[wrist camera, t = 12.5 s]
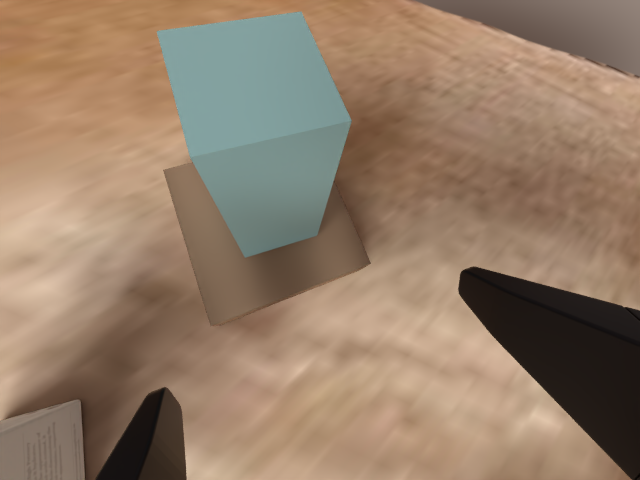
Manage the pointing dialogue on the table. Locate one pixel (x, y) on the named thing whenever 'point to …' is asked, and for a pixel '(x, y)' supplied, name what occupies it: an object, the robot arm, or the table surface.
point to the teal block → (259, 123)
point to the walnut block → (261, 269)
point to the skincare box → (43, 444)
